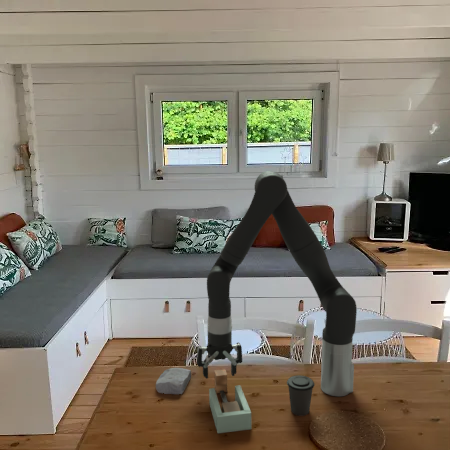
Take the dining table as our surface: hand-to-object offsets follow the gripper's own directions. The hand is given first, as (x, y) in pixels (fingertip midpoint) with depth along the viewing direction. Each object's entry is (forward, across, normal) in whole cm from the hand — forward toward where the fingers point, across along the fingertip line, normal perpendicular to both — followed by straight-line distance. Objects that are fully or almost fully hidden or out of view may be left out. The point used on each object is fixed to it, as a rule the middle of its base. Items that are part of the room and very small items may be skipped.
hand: (219, 376), depth 152 cm
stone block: (+6, +14, -7) cm, 17 cm away
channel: (+5, 0, +14) cm, 15 cm away
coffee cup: (+5, -21, +16) cm, 27 cm away
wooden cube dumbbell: (+5, 0, +9) cm, 10 cm away
